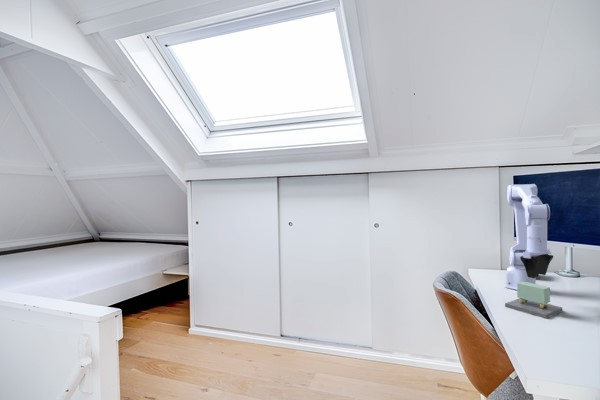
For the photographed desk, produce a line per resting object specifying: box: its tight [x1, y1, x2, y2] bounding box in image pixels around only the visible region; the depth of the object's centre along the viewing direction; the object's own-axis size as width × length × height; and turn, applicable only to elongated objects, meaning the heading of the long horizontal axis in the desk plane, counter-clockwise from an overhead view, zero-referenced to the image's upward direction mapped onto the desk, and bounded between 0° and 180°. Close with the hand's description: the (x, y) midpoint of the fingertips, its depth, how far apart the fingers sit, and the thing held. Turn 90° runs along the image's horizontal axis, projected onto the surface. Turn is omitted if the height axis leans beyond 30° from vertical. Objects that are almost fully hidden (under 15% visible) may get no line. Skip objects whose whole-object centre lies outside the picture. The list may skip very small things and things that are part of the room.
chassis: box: [504, 298, 563, 319], centre depth 106 cm, size 12×12×3 cm
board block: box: [516, 282, 551, 304], centre depth 106 cm, size 8×4×5 cm, turn 30°
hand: (536, 275), depth 110 cm, fingers open, 7 cm apart
